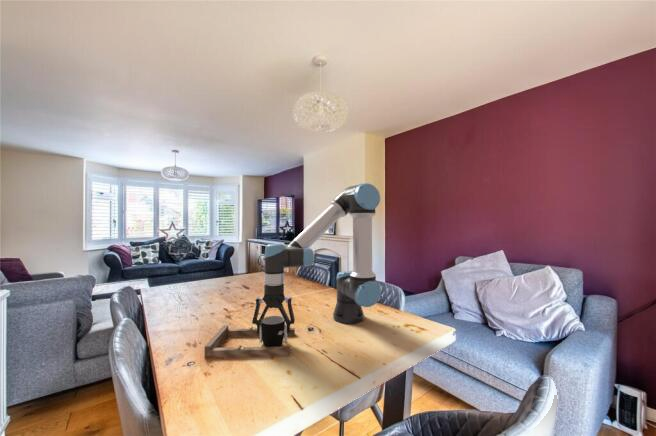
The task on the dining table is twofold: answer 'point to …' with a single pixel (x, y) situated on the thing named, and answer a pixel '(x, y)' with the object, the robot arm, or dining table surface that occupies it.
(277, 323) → the mug
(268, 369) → the dining table surface
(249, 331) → the frame
